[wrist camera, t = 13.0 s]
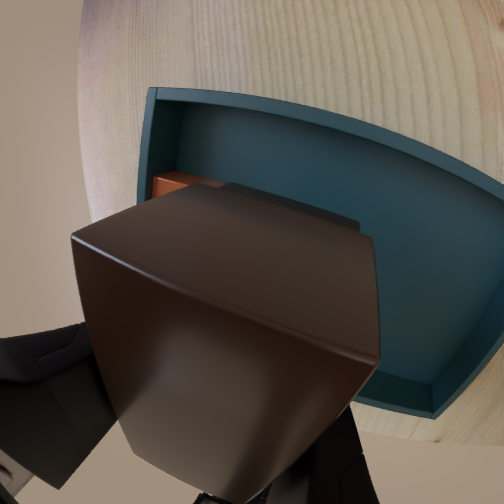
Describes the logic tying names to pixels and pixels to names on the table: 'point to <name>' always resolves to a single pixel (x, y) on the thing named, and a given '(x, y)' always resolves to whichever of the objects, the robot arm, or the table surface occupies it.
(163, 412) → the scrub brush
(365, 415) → the table surface
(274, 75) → the table surface
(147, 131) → the tray
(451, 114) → the table surface
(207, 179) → the clay crumb
